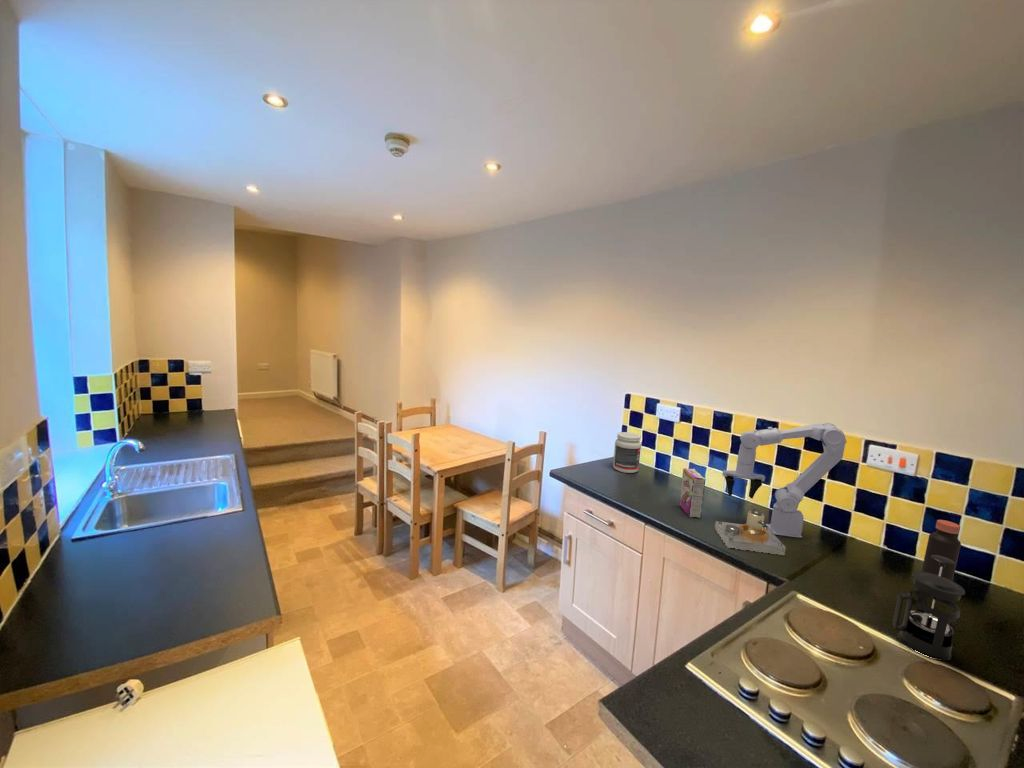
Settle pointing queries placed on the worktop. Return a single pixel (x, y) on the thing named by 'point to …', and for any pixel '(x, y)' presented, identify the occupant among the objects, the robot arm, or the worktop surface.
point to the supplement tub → (627, 452)
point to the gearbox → (749, 538)
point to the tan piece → (755, 522)
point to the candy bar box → (692, 492)
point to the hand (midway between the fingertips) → (740, 496)
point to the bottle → (942, 548)
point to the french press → (925, 622)
